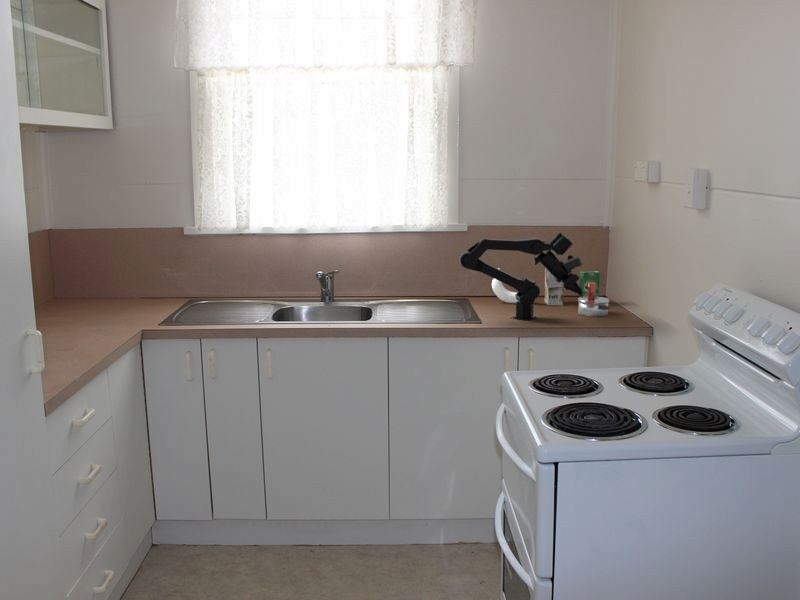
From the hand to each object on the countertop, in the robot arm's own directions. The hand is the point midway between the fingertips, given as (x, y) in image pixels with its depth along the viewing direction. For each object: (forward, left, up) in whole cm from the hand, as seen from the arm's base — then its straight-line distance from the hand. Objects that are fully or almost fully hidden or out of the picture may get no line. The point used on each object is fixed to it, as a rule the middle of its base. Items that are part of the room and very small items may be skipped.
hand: (581, 293), depth 301 cm
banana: (+5, +35, -9) cm, 37 cm away
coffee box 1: (+16, +24, -9) cm, 31 cm away
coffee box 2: (+26, +14, -9) cm, 31 cm away
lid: (+8, +1, -4) cm, 9 cm away
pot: (+10, +1, -9) cm, 14 cm away
